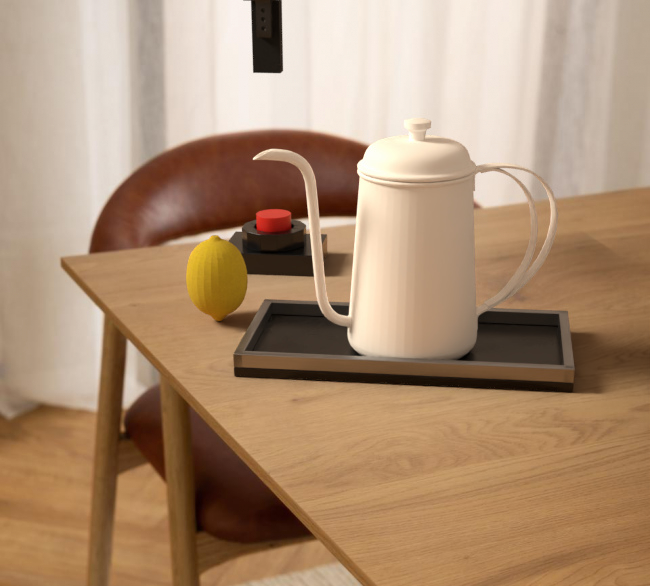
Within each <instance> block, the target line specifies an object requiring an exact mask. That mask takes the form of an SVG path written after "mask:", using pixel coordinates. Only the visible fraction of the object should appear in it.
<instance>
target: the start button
mask: <svg viewBox="0 0 650 586" xmlns="http://www.w3.org/2000/svg"><path fill="white" fill-rule="evenodd" d="M291 219H292V212H290V211H289V210H286V209H280V208H270V209H262V210H259V211H257V212H256V213H255V220H256V223H257V230H260V231H265V232H279V231H287V230H290V229H291Z"/></svg>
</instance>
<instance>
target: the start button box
mask: <svg viewBox="0 0 650 586" xmlns="http://www.w3.org/2000/svg"><path fill="white" fill-rule="evenodd" d="M228 241H229V242H230V243H232V244H233V245H234V246H236V247H237V249H238V250H239V251H240V253H241V255H242V257H243V259H244V262H245V265H246V269H247V275H254V276H255V275H256V276H257V275H259V276H262V275H263V276H280V277H281V276H284V277H286V276H287V277H310V278H311V277H312V278H314V270H313V260H312V249H311V239H310V233H307V225H306V223H305V222H303V221H302V220H297V219H292V218H291V229H290V230H287V231H279V232H265V231H260V230H257V223H256V219H253V220H251V221H247V222H245V223H244V224H243V225H242V227H241V231H238V230H236V231H235V232H234V233H233V234H232V236H231V237H230V238H229V240H228ZM321 241H322V252H323V263H324V262H325V260H326V258H327V256H328V234H327V233H326V234H325V233H321Z"/></svg>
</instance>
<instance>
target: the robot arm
mask: <svg viewBox="0 0 650 586" xmlns="http://www.w3.org/2000/svg"><path fill="white" fill-rule="evenodd" d="M242 1H244V2H245V1H248V2H249V1H250V14H251V15H250V16H251V18H250V19H251V43H252V44H251V47H252V48H251V49H252V50H251V51H252V73H253V74H281V73H283V72H284V48H283V47H284V46H283V45H284V44H283V43H284V42H283V41H284V40H283V0H242Z"/></svg>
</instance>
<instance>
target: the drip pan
mask: <svg viewBox="0 0 650 586" xmlns="http://www.w3.org/2000/svg"><path fill="white" fill-rule="evenodd" d="M329 304H330V306H331V307H332V309H333V310H334V311H335V312H336V313H338V314H340V315H344V316H348V315H349V306H350V301H349V302H348V301H329ZM569 317H570V316H569V311H568V310H560V309H559V310H554V309H531V308H530V309H529V308H528V309H527V308H506V307H505V308H503V307H493V308H491V309H489V310H488V311H486V312H484V313H482V314H480V315H479V317H478V330H477V339H476V343H475V345H474V347H473V348H472V349H471V350H470V351H469V352H468V353H467V354H466V355H464V356H463V357H461V358H459V359H457V360H436V359H414V358H392V357H369V356H362V355H360V354H359V353H358V352H356V351H355V350H354V349H353V347H352V346H351V345H350V343H349V340H348V327H346V326H340V325H337V324H335V323H333V322H331V321H329V320H328V319H327V318H326V317H325V316H324V314H323V313H322V311H321V309H320V307H319V304H318V301H317V300H301V299H298V300H297V299H275V298H274V299H272V298H271V299H270V298H264V299H263V301H262V303H261V305H260V306H259V308H258V310H257V312H256V313H255V315H254V317H253V319H251V322H250V324H249V325H248V327H247V329H246V331H245V332H244V334H243V337H242V338H241V340H240V342H239V343H238V345H237V346H236V348H235V350H234V352H233V353H232V357H233V359H232V361H233V376H234V377H246V378H265V379H285V380H304V381H305V380H306V381H325V382H326V381H329V382H346V383H347V382H349V383H369V384H370V383H371V384H388V385H389V384H390V385H412V386H431V387H433V386H435V387H453V388H454V387H455V388H475V389H493V390H494V389H496V390H514V391H515V390H518V391H538V392H539V391H540V392H557V393H558V392H559V393H573V392H574V391H573V390H574V381H575V372H576V368H575V360H574V352H573V343H572V335H571V334H572V333H571V326H570V325H571V324H570V318H569Z"/></svg>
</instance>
